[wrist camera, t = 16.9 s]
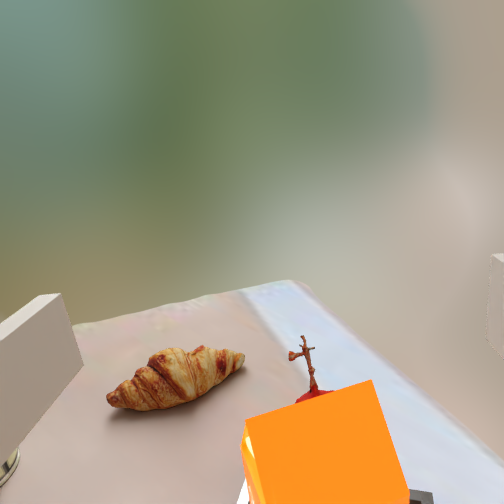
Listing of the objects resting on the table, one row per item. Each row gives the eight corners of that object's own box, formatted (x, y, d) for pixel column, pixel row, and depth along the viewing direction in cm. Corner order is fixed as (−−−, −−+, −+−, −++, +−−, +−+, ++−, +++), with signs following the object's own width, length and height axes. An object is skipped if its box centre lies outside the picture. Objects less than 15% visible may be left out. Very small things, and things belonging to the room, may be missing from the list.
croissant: (241, 374, 67) (228, 328, 68) (260, 379, 58) (245, 326, 59) (113, 420, 60) (101, 368, 61) (112, 434, 50) (98, 372, 51)
